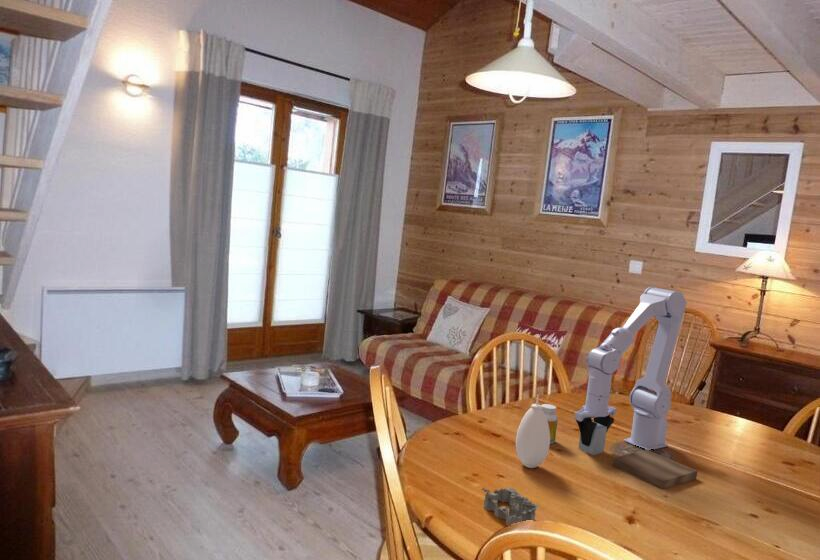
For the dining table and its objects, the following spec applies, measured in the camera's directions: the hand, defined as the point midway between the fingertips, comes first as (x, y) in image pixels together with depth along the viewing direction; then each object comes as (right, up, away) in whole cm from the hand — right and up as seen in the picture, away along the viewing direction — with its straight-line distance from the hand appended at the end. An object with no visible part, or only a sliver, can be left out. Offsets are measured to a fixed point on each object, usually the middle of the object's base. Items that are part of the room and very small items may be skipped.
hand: (591, 443), depth 157 cm
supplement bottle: (-12, -1, +4) cm, 12 cm away
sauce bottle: (-19, -2, -14) cm, 24 cm away
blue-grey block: (0, -2, 0) cm, 2 cm away
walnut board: (+12, -4, -11) cm, 17 cm away
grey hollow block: (-29, -4, -38) cm, 48 cm away
